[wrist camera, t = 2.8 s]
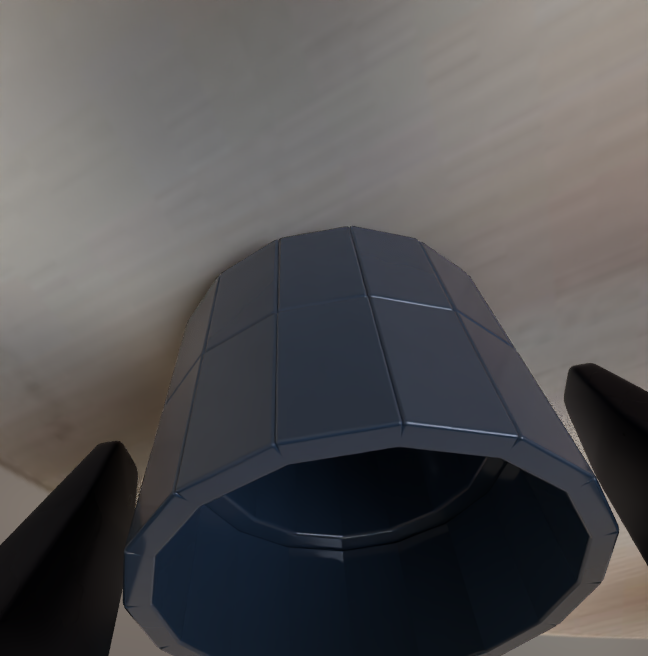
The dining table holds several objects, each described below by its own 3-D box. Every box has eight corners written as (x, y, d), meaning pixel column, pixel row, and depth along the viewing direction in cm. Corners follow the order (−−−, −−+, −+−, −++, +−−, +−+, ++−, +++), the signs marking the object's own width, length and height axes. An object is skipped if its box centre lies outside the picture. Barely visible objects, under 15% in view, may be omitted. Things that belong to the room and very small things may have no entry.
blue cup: (233, 470, 14) (209, 711, 9) (141, 250, 10) (19, 484, 5) (479, 430, 13) (578, 658, 9) (487, 188, 9) (673, 378, 5)
